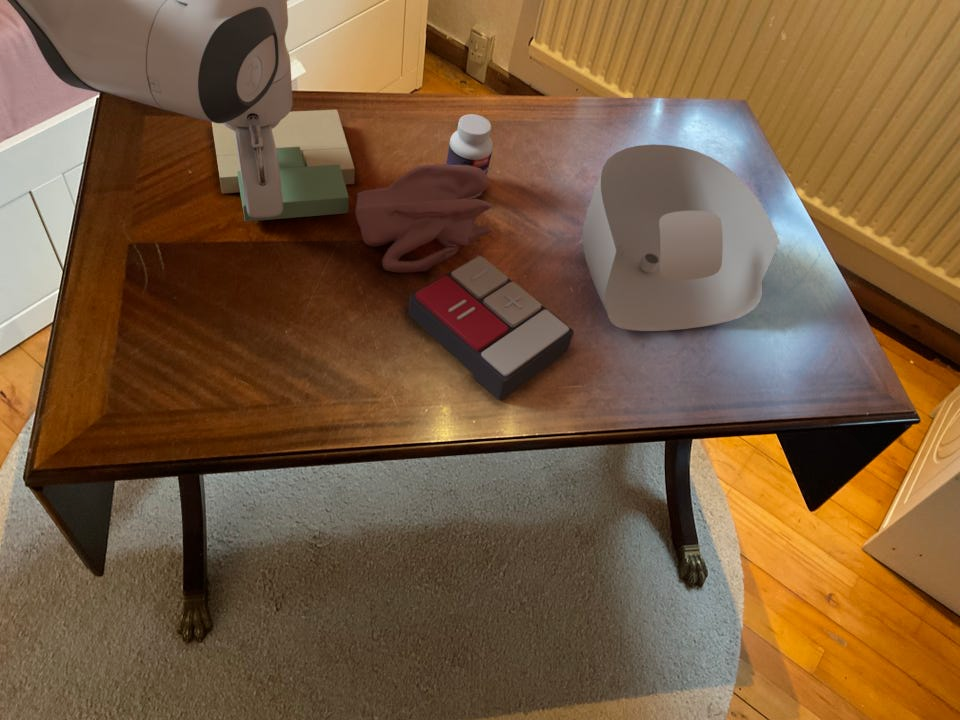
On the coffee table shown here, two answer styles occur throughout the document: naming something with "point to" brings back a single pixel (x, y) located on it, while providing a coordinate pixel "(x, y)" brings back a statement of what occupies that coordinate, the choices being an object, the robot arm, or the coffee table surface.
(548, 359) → the calculator
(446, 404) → the coffee table surface
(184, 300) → the coffee table surface
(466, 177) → the figurine
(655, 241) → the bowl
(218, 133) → the beige pad
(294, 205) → the green pad
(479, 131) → the pill bottle
